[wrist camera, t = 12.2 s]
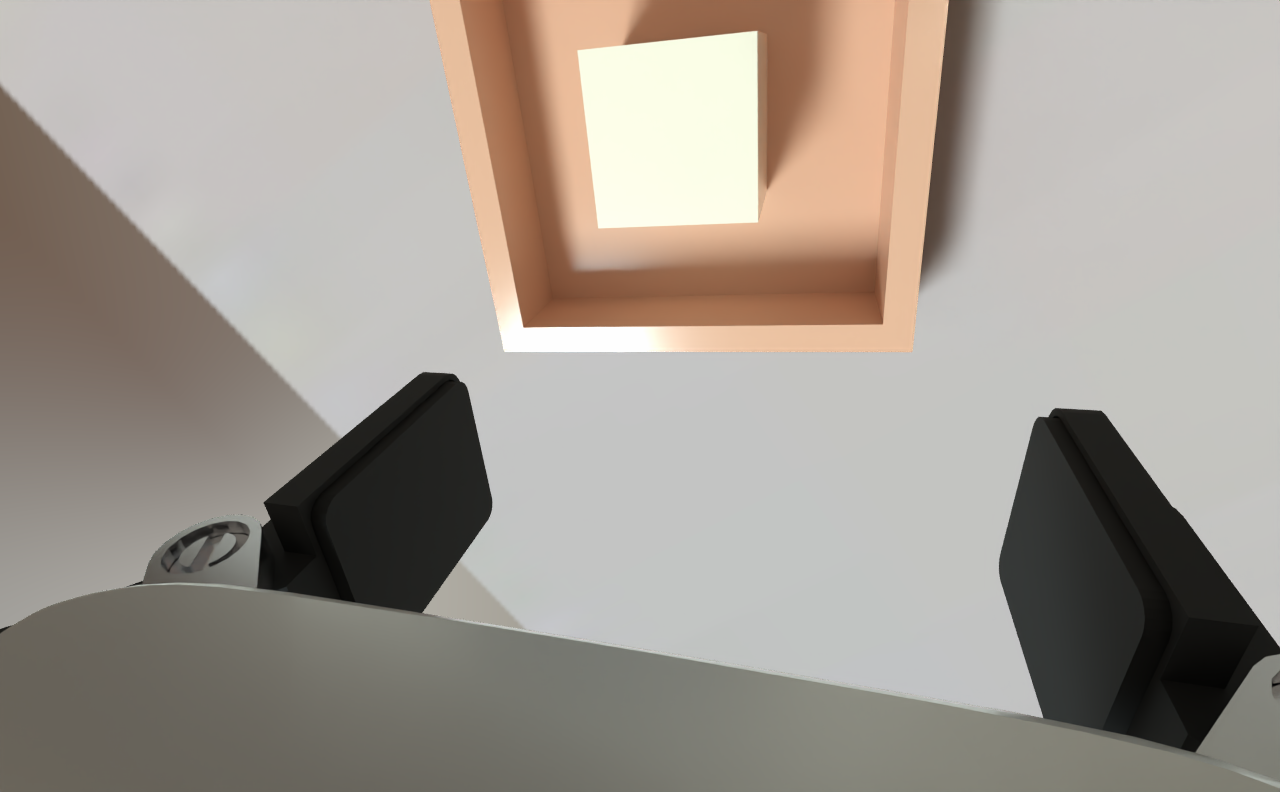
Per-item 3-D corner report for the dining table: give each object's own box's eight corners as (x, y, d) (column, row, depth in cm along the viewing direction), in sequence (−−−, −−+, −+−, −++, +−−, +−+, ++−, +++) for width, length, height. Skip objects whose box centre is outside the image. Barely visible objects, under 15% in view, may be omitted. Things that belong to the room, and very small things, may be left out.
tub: (942, -189, 22) (973, -243, 18) (898, 310, 30) (912, 351, 26) (466, -99, 26) (403, -126, 22) (540, 315, 34) (504, 351, 30)
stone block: (767, 33, 25) (757, 30, 20) (767, 190, 28) (758, 222, 23) (621, 49, 27) (577, 50, 22) (634, 196, 30) (598, 228, 24)
